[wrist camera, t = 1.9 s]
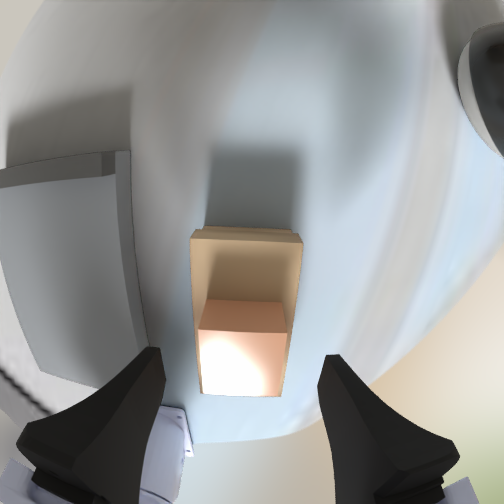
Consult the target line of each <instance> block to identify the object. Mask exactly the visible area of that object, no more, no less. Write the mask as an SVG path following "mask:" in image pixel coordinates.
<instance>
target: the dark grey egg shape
mask: <svg viewBox="0 0 504 504" xmlns="http://www.w3.org/2000/svg"><path fill="white" fill-rule="evenodd" d="M458 86H459V92H460V96H461V100H462V103H463V106H464V109H465V112H466V114H467V116H468V118H469V120H470V122H471V124H472V126H473V127H474V129H475V131H476V132H477V133H478V135H479V136H480V138H481V139H482V140H483V141H484V142H485V143H486V144H487V146H488V147H489V148H491V149H492V150H493V151H494V152H495V153H497V154H498V155H499V156H501V157H502V158H504V22H501V23H494V24H490V25H486V26H483V27H481V28H479V29H477V30H476V31H475V32H474V34H473V36H472V38H471V40H470V41H469V42H468V43H467V45H466V46H465V47H464V49H463V51H462V53H461V56H460V59H459V64H458Z"/></svg>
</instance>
